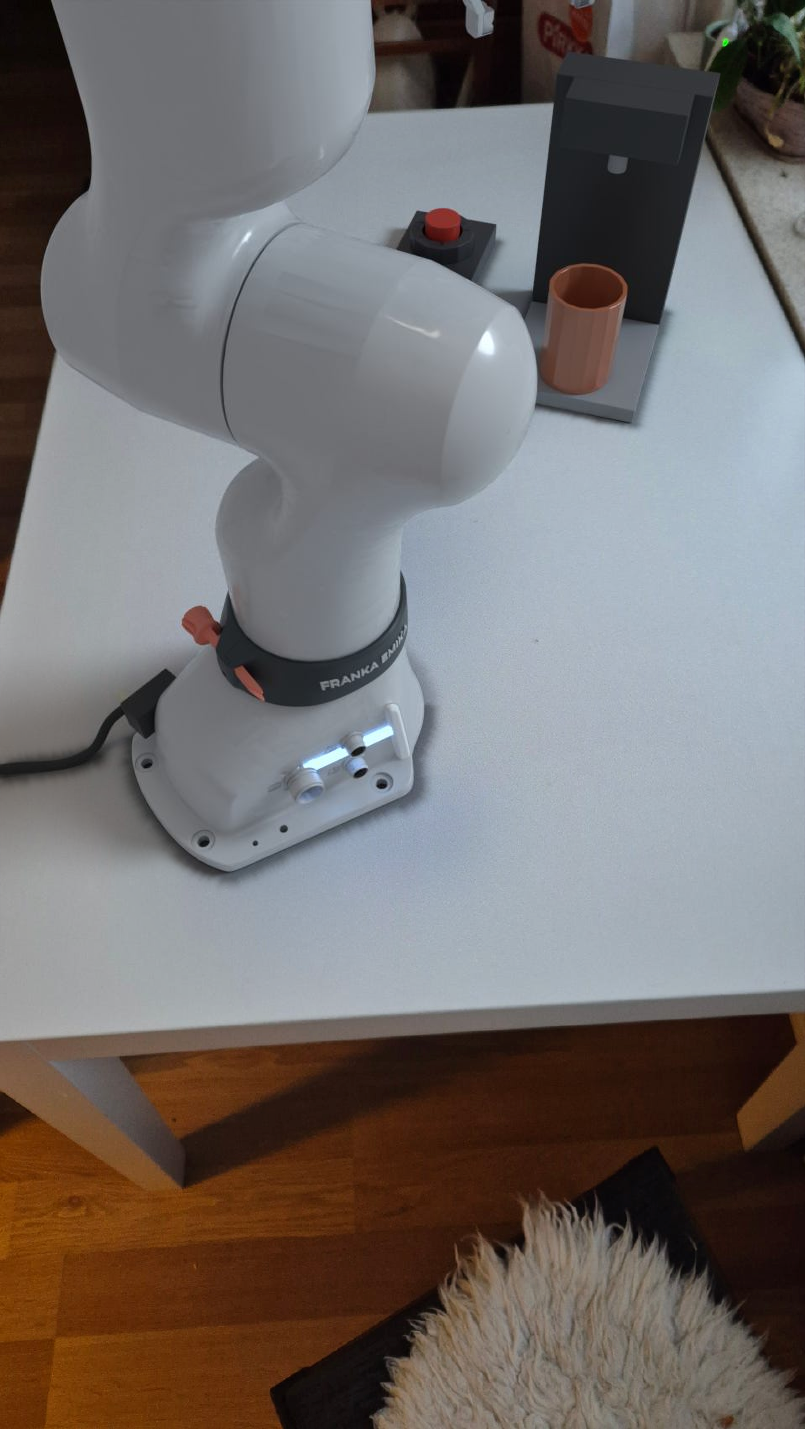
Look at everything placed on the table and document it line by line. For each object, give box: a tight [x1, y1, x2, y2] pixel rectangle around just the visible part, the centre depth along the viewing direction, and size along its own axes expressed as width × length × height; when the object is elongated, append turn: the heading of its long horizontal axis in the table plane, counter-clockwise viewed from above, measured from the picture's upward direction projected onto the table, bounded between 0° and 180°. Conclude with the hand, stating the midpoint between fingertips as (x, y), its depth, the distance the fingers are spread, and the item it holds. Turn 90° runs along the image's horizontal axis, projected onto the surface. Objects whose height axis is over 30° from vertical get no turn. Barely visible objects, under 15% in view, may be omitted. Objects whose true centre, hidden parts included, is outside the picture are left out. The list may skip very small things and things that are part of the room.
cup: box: [539, 263, 627, 395], centre depth 93 cm, size 7×7×9 cm
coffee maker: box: [523, 51, 721, 424], centre depth 90 cm, size 17×13×23 cm
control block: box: [395, 210, 498, 285], centre depth 106 cm, size 11×9×4 cm
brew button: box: [425, 207, 460, 242], centre depth 104 cm, size 4×4×2 cm
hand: (530, 18), depth 80 cm, fingers open, 8 cm apart
